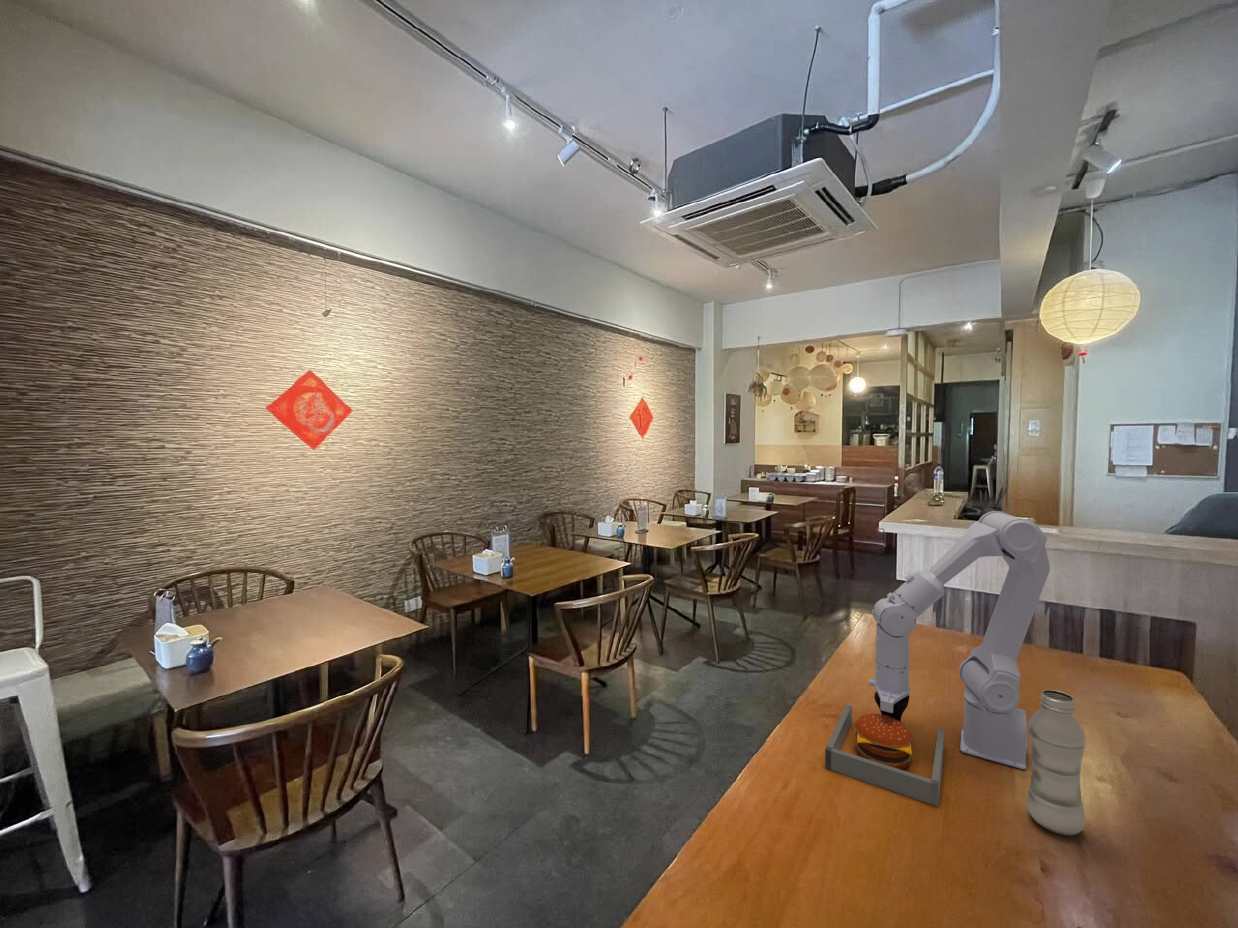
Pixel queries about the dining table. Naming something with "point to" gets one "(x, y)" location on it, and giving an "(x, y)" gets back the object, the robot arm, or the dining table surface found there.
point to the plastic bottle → (1056, 765)
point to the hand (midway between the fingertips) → (891, 731)
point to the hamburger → (883, 740)
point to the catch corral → (883, 766)
